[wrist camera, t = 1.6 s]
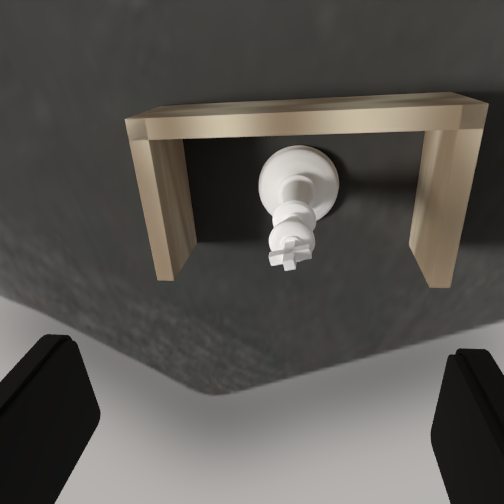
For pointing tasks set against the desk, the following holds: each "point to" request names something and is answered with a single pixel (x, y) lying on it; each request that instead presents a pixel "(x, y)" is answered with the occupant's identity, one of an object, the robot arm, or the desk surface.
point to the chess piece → (296, 200)
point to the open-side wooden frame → (307, 123)
